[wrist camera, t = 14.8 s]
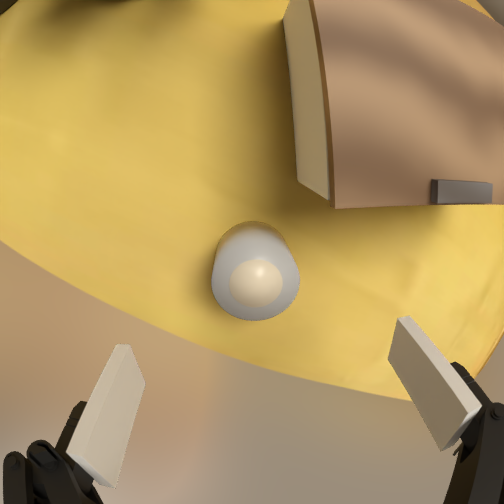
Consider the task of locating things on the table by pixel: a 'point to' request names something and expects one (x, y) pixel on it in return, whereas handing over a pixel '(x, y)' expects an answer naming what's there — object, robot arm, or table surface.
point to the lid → (411, 102)
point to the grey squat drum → (254, 272)
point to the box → (306, 98)
